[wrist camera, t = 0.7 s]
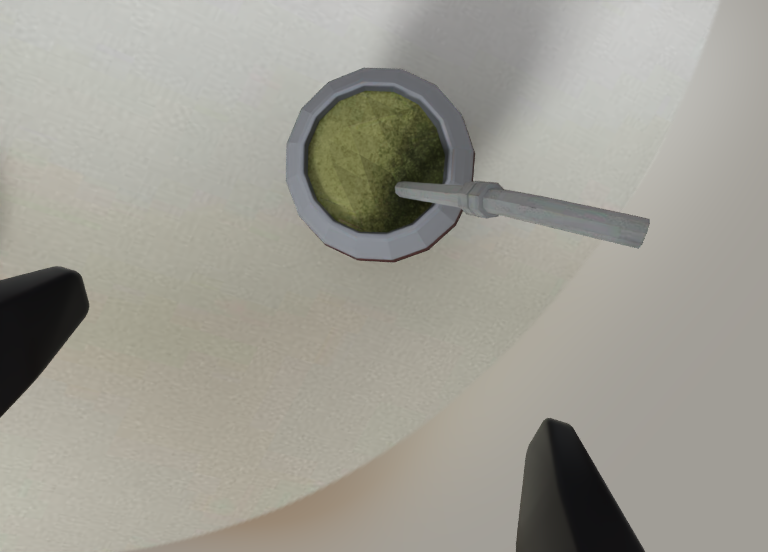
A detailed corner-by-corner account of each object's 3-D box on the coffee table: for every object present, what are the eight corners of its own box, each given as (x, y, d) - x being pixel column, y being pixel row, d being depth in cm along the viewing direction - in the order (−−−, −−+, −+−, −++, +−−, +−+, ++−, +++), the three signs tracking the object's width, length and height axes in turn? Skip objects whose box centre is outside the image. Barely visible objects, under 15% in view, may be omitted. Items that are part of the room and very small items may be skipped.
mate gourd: (297, 138, 23) (85, -10, 8) (449, 78, 22) (526, -207, 7) (349, 279, 24) (244, 384, 9) (498, 226, 23) (661, 242, 8)
